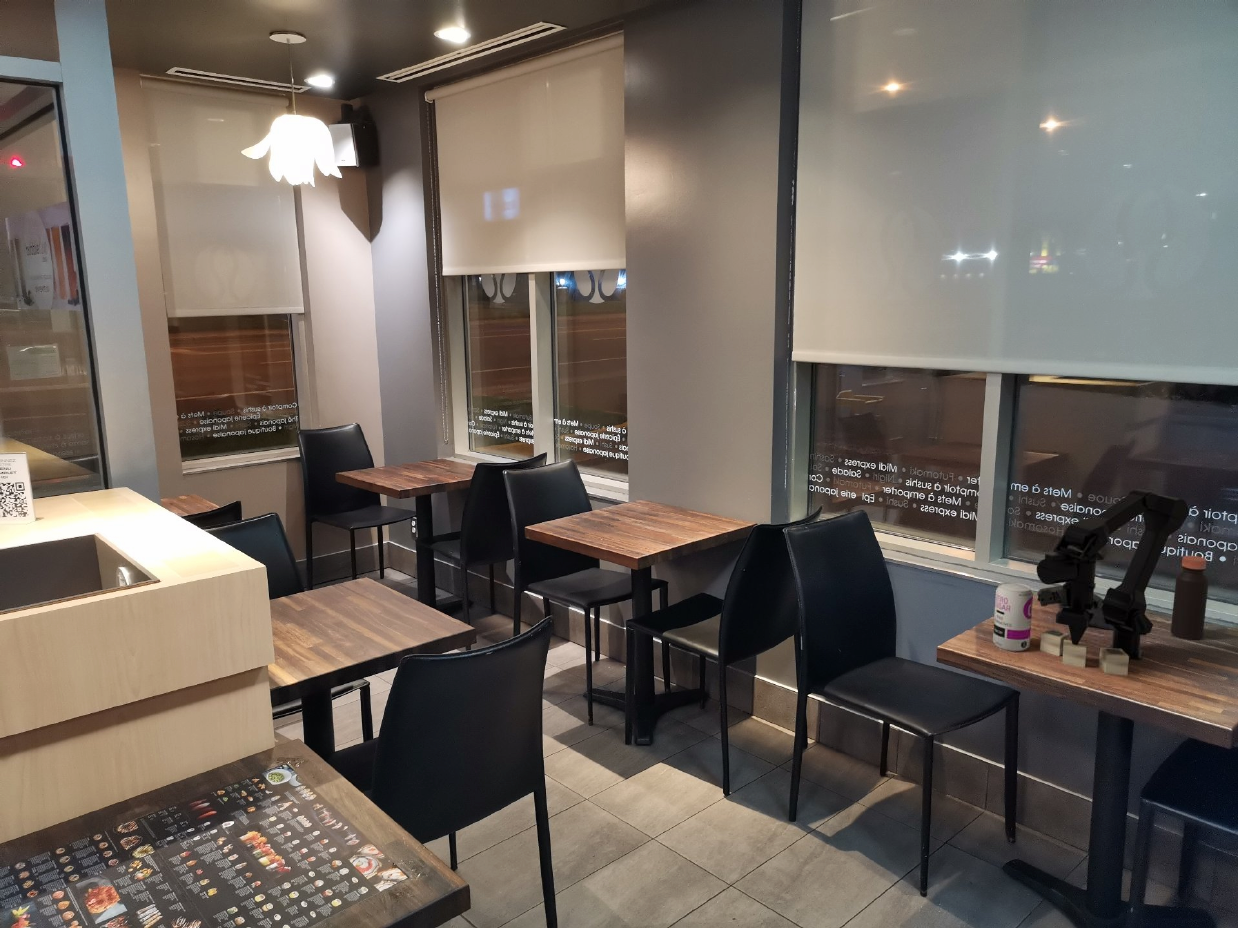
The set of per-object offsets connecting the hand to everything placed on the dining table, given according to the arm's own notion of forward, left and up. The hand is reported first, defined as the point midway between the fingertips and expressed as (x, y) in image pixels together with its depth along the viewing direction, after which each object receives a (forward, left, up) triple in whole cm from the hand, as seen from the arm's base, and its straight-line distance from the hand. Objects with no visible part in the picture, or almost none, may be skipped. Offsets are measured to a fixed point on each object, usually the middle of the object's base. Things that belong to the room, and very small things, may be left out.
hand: (1075, 644), depth 200 cm
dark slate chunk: (-38, -2, -5) cm, 38 cm away
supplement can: (-3, -14, -5) cm, 15 cm away
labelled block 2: (0, +8, -5) cm, 9 cm away
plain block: (0, 0, -5) cm, 5 cm away
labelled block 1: (-5, -5, -5) cm, 8 cm away
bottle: (-35, +20, -5) cm, 41 cm away
